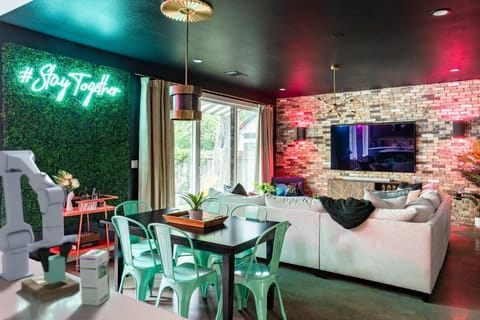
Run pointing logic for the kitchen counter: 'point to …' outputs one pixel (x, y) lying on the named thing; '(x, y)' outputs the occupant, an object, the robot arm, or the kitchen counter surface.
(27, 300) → the kitchen counter surface
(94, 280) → the syrup box
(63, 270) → the teal block
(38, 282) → the pocket plate
